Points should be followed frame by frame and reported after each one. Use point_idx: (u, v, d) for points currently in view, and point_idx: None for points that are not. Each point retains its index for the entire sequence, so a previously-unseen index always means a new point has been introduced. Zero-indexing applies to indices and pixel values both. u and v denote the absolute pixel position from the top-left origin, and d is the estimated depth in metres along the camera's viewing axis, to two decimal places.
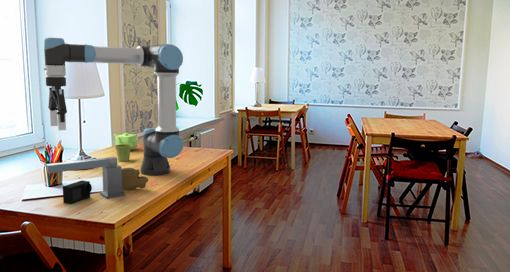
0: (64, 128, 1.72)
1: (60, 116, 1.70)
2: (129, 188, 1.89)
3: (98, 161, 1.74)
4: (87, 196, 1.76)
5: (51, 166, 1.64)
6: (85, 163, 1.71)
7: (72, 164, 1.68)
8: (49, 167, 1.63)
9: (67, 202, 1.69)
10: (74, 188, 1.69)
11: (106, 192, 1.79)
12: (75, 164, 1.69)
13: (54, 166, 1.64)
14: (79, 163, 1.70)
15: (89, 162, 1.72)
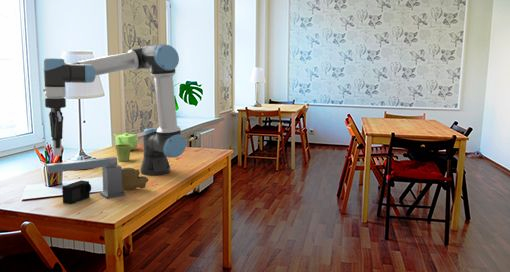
0: (59, 154, 1.73)
1: (55, 142, 1.71)
2: (129, 188, 1.89)
3: (98, 161, 1.74)
4: (86, 196, 1.76)
5: (51, 166, 1.64)
6: (85, 163, 1.71)
7: (72, 164, 1.68)
8: (49, 167, 1.63)
9: (67, 202, 1.69)
10: (74, 188, 1.69)
11: (106, 192, 1.79)
12: (75, 164, 1.69)
13: (54, 166, 1.64)
14: (79, 163, 1.70)
15: (89, 162, 1.72)
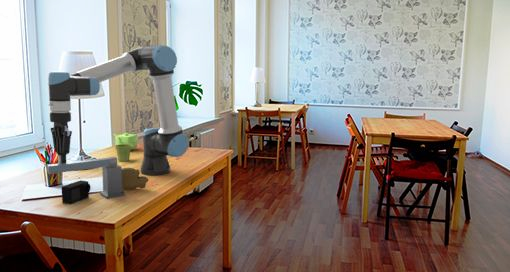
0: None
1: (61, 157, 1.68)
2: (129, 188, 1.89)
3: (98, 161, 1.74)
4: (86, 196, 1.76)
5: (52, 167, 1.63)
6: (86, 163, 1.71)
7: (73, 164, 1.68)
8: (50, 168, 1.62)
9: (66, 202, 1.68)
10: (73, 188, 1.69)
11: (106, 192, 1.79)
12: (76, 164, 1.68)
13: (55, 167, 1.63)
14: (80, 163, 1.69)
15: (90, 162, 1.72)
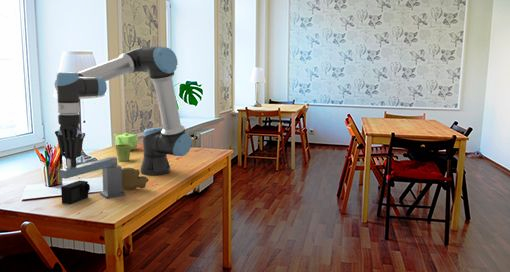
0: None
1: (72, 161, 1.62)
2: (129, 188, 1.89)
3: (103, 162, 1.73)
4: (85, 196, 1.76)
5: (68, 171, 1.57)
6: (94, 165, 1.69)
7: (84, 167, 1.64)
8: (66, 172, 1.57)
9: (66, 202, 1.68)
10: (73, 188, 1.69)
11: (106, 192, 1.79)
12: (86, 167, 1.65)
13: (70, 170, 1.58)
14: (89, 165, 1.67)
15: (97, 164, 1.70)
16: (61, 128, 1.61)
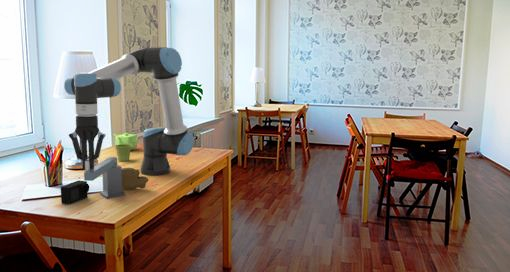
0: None
1: (91, 162, 1.59)
2: (129, 188, 1.89)
3: (110, 162, 1.73)
4: (84, 196, 1.76)
5: (93, 173, 1.56)
6: (105, 165, 1.68)
7: (101, 168, 1.63)
8: (93, 174, 1.55)
9: (65, 202, 1.68)
10: (73, 188, 1.69)
11: (106, 192, 1.79)
12: (102, 168, 1.64)
13: (94, 172, 1.57)
14: (103, 166, 1.66)
15: (107, 164, 1.70)
16: (78, 130, 1.57)
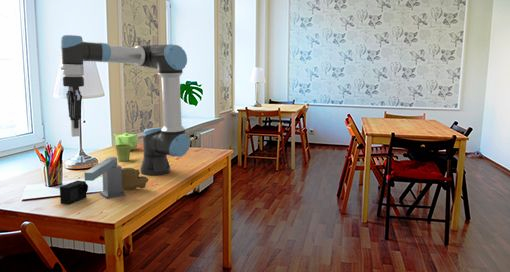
0: (78, 134, 1.69)
1: (74, 122, 1.67)
2: (129, 188, 1.89)
3: (110, 162, 1.73)
4: (83, 196, 1.76)
5: (94, 173, 1.56)
6: (106, 165, 1.68)
7: (101, 168, 1.63)
8: (93, 174, 1.55)
9: (65, 202, 1.68)
10: (72, 188, 1.69)
11: (106, 192, 1.79)
12: (102, 168, 1.64)
13: (95, 172, 1.57)
14: (103, 166, 1.66)
15: (107, 164, 1.70)
16: (68, 90, 1.68)
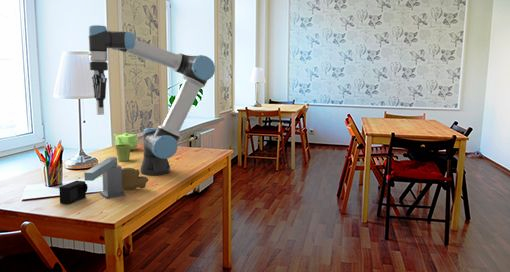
0: (102, 113, 1.92)
1: (99, 102, 1.90)
2: (129, 188, 1.89)
3: (110, 162, 1.73)
4: (83, 196, 1.76)
5: (94, 173, 1.56)
6: (106, 165, 1.68)
7: (101, 168, 1.63)
8: (93, 174, 1.55)
9: (64, 202, 1.68)
10: (71, 188, 1.69)
11: (106, 192, 1.79)
12: (102, 168, 1.64)
13: (95, 172, 1.57)
14: (103, 166, 1.66)
15: (107, 164, 1.70)
16: (94, 74, 1.91)
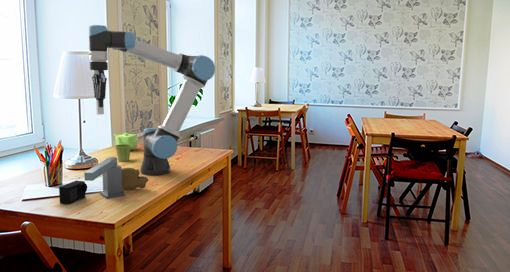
0: (102, 112, 1.92)
1: (99, 101, 1.90)
2: (129, 188, 1.89)
3: (110, 162, 1.73)
4: (82, 196, 1.76)
5: (94, 173, 1.56)
6: (106, 165, 1.68)
7: (101, 168, 1.63)
8: (93, 174, 1.55)
9: (64, 202, 1.68)
10: (71, 188, 1.69)
11: (106, 192, 1.79)
12: (102, 168, 1.64)
13: (95, 172, 1.57)
14: (103, 166, 1.66)
15: (107, 164, 1.70)
16: (94, 73, 1.91)
